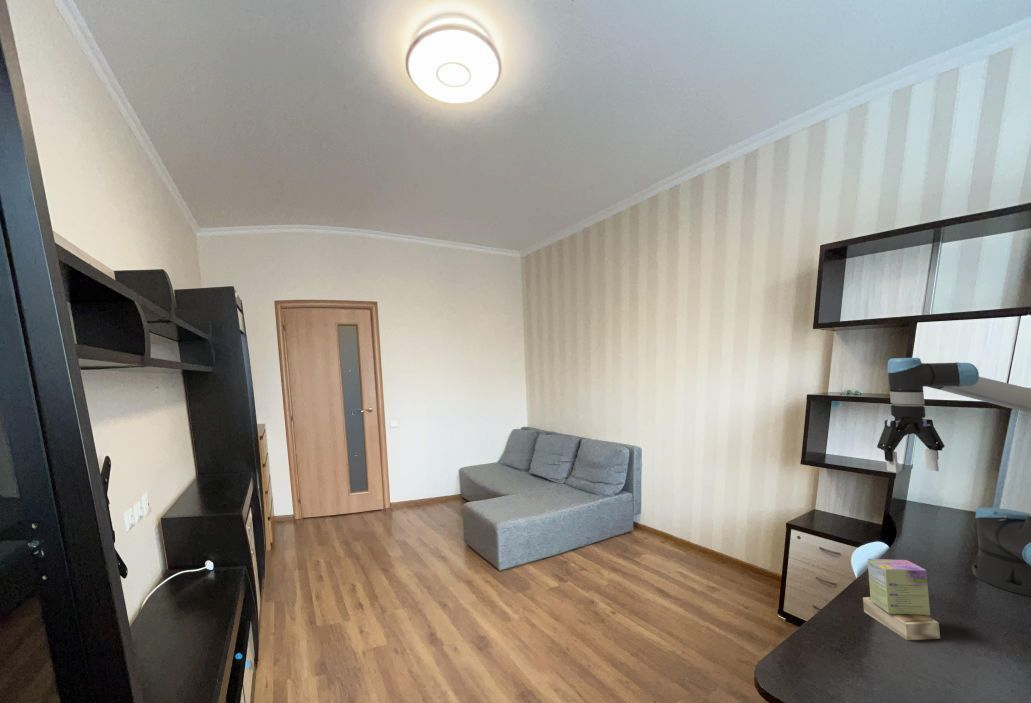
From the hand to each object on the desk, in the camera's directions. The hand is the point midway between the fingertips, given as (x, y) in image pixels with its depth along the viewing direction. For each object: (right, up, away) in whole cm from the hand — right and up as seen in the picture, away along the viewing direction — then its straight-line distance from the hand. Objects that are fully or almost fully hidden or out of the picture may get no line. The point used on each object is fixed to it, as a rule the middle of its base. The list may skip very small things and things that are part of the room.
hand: (912, 470), depth 115 cm
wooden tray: (-23, -36, -17) cm, 46 cm away
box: (-23, -32, -17) cm, 43 cm away
